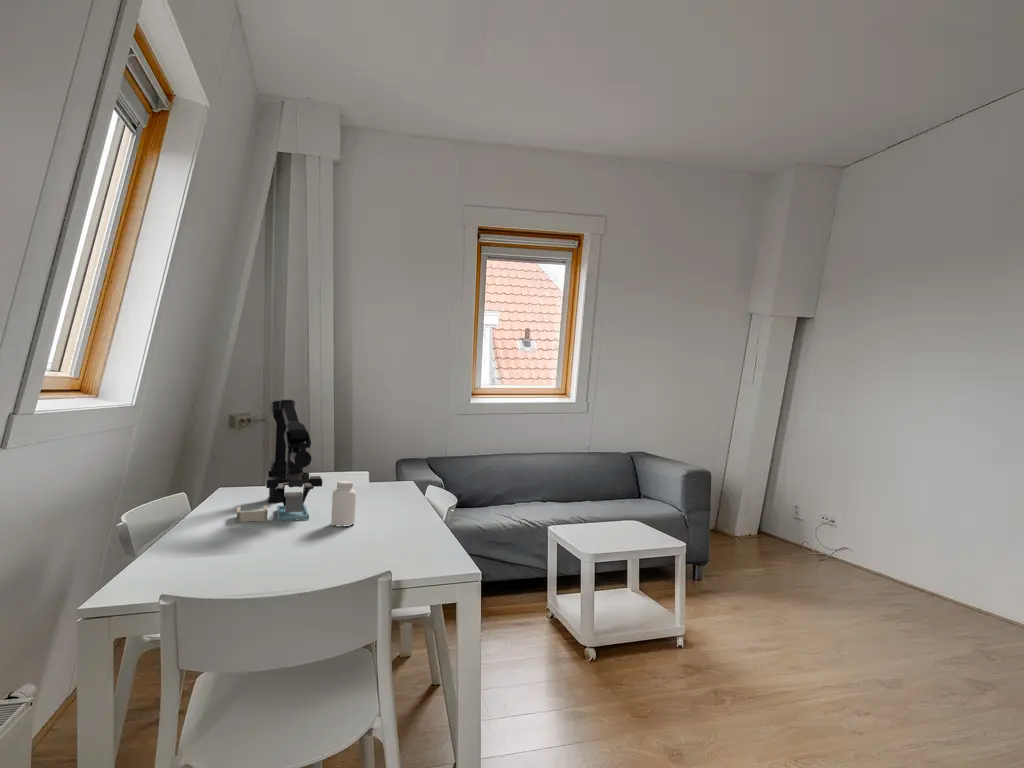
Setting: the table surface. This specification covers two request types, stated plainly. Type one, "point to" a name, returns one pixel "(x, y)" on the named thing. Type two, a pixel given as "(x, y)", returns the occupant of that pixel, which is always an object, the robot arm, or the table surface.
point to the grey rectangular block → (293, 502)
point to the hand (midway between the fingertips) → (293, 505)
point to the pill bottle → (343, 504)
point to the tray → (292, 514)
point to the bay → (251, 515)
